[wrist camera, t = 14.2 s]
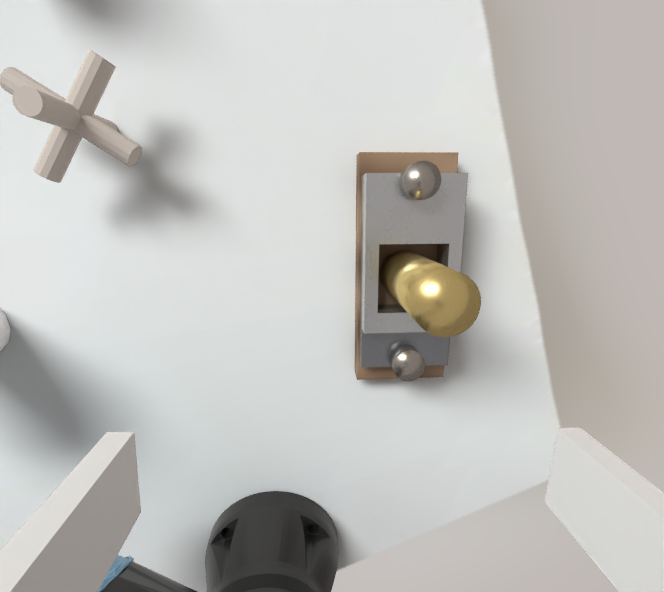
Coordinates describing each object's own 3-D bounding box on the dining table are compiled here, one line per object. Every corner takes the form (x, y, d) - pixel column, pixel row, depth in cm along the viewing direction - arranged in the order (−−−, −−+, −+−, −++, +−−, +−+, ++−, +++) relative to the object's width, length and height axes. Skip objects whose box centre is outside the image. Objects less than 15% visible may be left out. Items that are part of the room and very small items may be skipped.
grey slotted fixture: (441, 366, 39) (459, 386, 35) (359, 368, 39) (365, 389, 34) (455, 166, 35) (477, 160, 30) (361, 166, 34) (369, 160, 30)
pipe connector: (184, 113, 34) (135, 77, 24) (134, 209, 36) (69, 211, 26) (77, 44, 32) (-21, -26, 23) (30, 148, 34) (-81, 125, 24)
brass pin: (424, 296, 37) (477, 336, 26) (379, 296, 37) (411, 337, 25) (427, 250, 36) (484, 271, 25) (381, 250, 36) (415, 271, 24)
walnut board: (436, 368, 41) (443, 376, 39) (354, 371, 41) (357, 379, 39) (450, 155, 36) (458, 152, 34) (356, 155, 36) (359, 152, 34)
